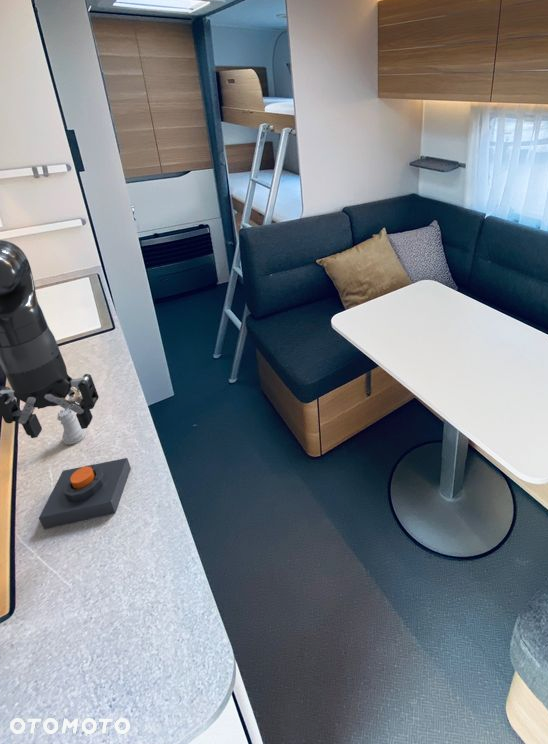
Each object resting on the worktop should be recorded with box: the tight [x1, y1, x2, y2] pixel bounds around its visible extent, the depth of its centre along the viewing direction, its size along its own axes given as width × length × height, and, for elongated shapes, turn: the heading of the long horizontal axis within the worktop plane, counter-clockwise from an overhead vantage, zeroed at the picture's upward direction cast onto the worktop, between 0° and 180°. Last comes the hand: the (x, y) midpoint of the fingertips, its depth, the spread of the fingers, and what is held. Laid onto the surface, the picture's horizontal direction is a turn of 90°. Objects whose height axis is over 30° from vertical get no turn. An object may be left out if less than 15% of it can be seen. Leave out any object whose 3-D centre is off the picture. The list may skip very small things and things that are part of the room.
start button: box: [70, 465, 95, 489], centre depth 79 cm, size 4×4×2 cm
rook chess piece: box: [56, 409, 87, 445], centre depth 93 cm, size 4×4×8 cm
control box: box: [38, 457, 132, 530], centre depth 81 cm, size 12×10×5 cm
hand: (62, 429), depth 75 cm, fingers open, 7 cm apart
